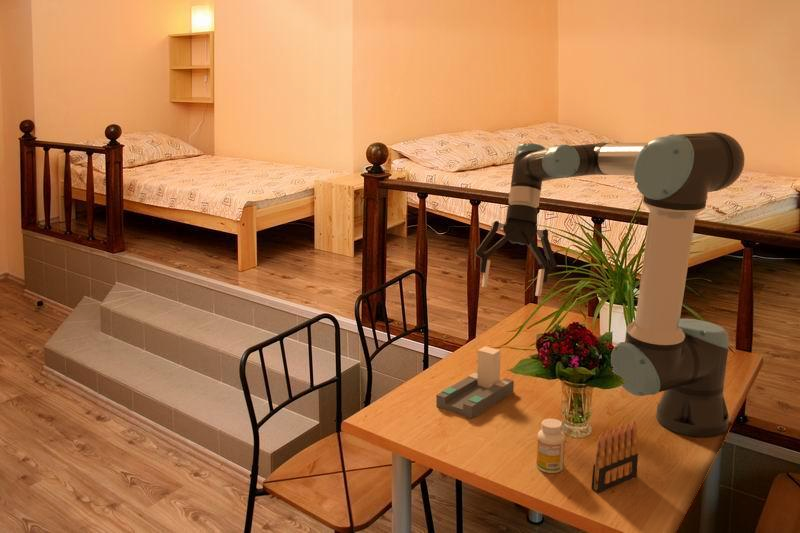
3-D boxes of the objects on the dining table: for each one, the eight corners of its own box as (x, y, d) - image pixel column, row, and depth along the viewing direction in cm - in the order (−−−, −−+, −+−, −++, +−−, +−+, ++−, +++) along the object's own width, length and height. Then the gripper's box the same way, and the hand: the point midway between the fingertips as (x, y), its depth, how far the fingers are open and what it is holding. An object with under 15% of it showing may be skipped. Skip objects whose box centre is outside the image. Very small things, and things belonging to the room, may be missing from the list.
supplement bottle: (547, 457, 158) (549, 414, 155) (569, 466, 154) (571, 423, 151) (530, 466, 154) (532, 422, 152) (552, 477, 151) (555, 432, 148)
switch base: (479, 381, 194) (479, 369, 193) (513, 391, 188) (513, 379, 187) (436, 406, 181) (436, 393, 180) (471, 418, 175) (471, 405, 174)
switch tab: (484, 380, 191) (485, 346, 188) (499, 385, 188) (500, 350, 185) (477, 385, 188) (477, 350, 186) (492, 389, 185) (493, 354, 183)
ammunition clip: (629, 472, 152) (634, 417, 149) (637, 476, 150) (641, 421, 147) (590, 488, 146) (594, 431, 143) (598, 493, 145) (602, 435, 142)
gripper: (567, 217, 195) (555, 299, 193) (471, 200, 193) (458, 283, 191) (576, 212, 188) (565, 298, 186) (476, 195, 186) (464, 282, 184)
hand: (511, 291), depth 188 cm, fingers open, 13 cm apart
